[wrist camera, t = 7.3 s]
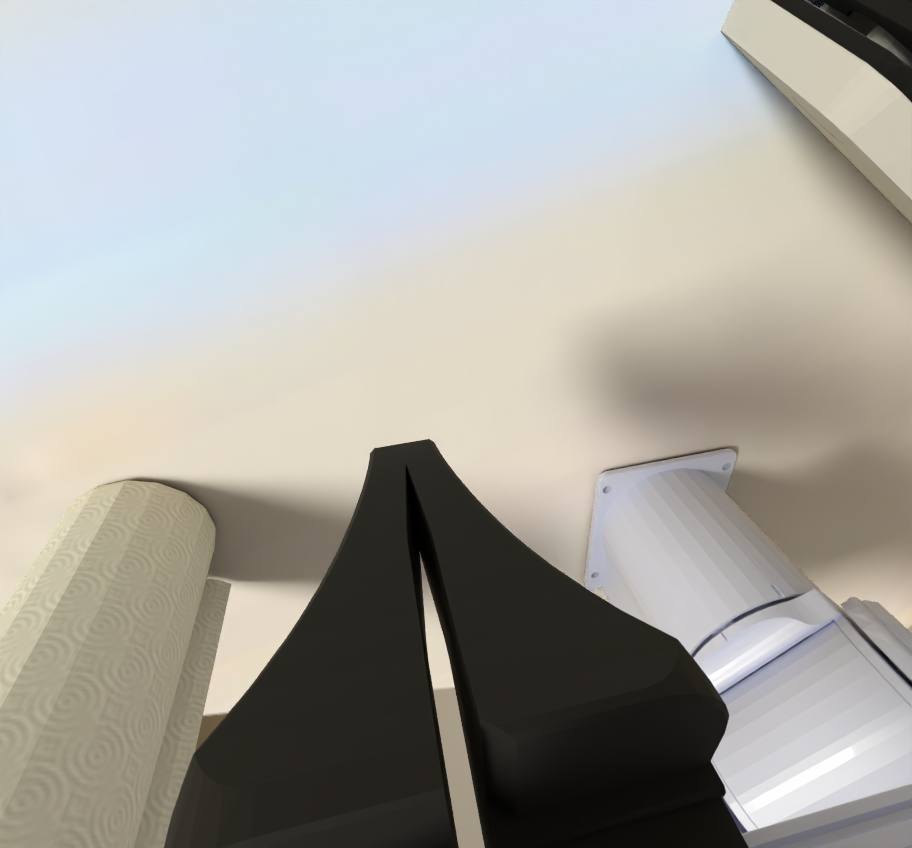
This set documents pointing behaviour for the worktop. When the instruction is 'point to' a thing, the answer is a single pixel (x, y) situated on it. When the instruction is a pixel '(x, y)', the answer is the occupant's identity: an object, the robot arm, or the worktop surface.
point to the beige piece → (841, 76)
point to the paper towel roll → (107, 670)
